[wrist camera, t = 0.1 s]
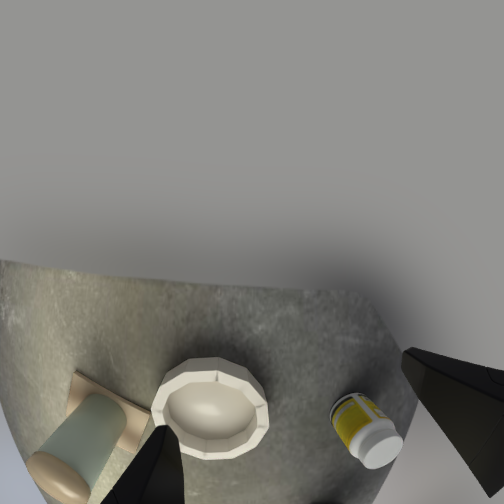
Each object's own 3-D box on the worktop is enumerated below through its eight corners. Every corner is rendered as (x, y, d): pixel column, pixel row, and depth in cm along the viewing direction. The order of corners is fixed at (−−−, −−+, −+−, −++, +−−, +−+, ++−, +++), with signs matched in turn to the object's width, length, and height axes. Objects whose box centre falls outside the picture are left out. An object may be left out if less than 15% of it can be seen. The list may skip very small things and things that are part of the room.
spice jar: (122, 440, 22) (84, 515, 10) (79, 417, 22) (28, 479, 10) (132, 409, 22) (88, 489, 10) (86, 383, 22) (24, 446, 10)
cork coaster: (135, 451, 23) (134, 454, 22) (67, 413, 22) (65, 416, 22) (151, 412, 23) (149, 415, 22) (76, 370, 22) (73, 372, 22)
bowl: (238, 452, 24) (239, 469, 21) (147, 418, 23) (140, 434, 20) (282, 380, 24) (288, 395, 21) (180, 339, 23) (174, 351, 20)
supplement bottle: (326, 429, 25) (353, 477, 16) (331, 395, 25) (365, 441, 16) (365, 422, 25) (399, 463, 17) (371, 388, 25) (413, 426, 17)
